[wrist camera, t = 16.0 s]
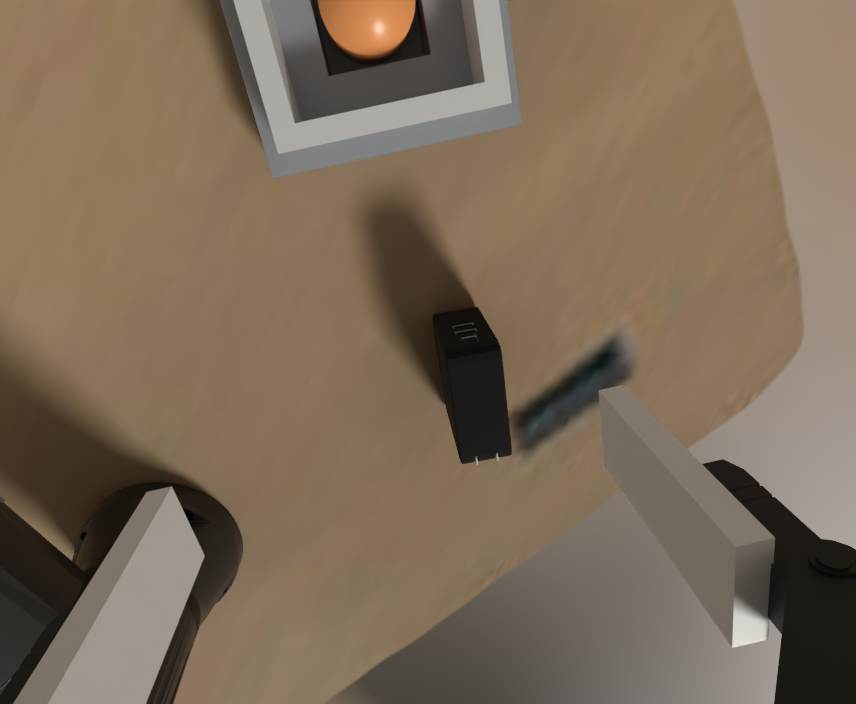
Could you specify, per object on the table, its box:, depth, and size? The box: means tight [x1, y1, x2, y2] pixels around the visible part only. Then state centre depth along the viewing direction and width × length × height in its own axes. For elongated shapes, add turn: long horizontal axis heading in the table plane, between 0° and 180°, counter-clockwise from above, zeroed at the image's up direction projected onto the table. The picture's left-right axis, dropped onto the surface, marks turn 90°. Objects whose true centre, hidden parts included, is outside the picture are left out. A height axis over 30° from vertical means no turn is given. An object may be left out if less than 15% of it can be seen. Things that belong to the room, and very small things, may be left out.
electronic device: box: [433, 307, 512, 465], centre depth 45 cm, size 4×10×10 cm, turn 8°
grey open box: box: [220, 0, 522, 179], centre depth 35 cm, size 18×18×9 cm
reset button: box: [318, 0, 415, 64], centre depth 36 cm, size 6×6×5 cm
